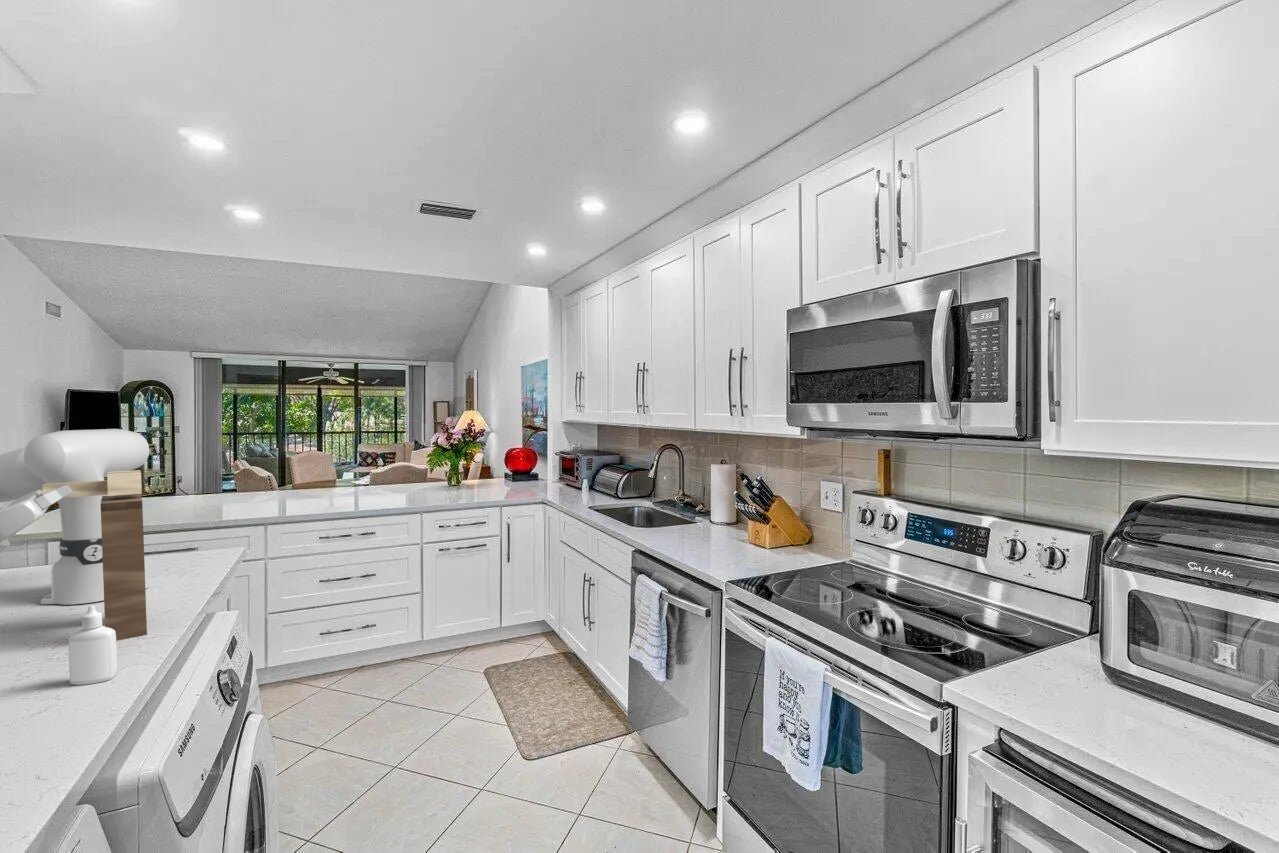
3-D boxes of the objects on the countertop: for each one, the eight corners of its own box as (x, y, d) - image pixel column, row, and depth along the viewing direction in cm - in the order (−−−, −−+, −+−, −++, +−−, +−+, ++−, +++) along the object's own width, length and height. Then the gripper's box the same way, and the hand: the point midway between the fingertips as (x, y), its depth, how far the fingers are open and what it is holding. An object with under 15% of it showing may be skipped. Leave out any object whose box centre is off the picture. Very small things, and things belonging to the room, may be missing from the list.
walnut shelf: (106, 622, 124) (102, 496, 124) (144, 616, 128) (140, 493, 127) (105, 642, 114) (100, 503, 113) (146, 634, 118) (142, 500, 117)
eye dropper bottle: (93, 687, 95) (90, 611, 95) (65, 684, 96) (62, 609, 96) (122, 675, 99) (119, 602, 99) (94, 672, 100) (92, 600, 100)
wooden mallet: (45, 496, 116) (45, 475, 116) (140, 489, 125) (140, 470, 125) (41, 500, 110) (40, 478, 110) (141, 493, 119) (141, 473, 119)
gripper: (2, 536, 117) (85, 494, 124) (-16, 555, 101) (80, 506, 109) (-24, 510, 115) (63, 469, 122) (-46, 525, 99) (54, 477, 107)
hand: (71, 486), depth 115 cm, fingers closed on wooden mallet, 3 cm apart
